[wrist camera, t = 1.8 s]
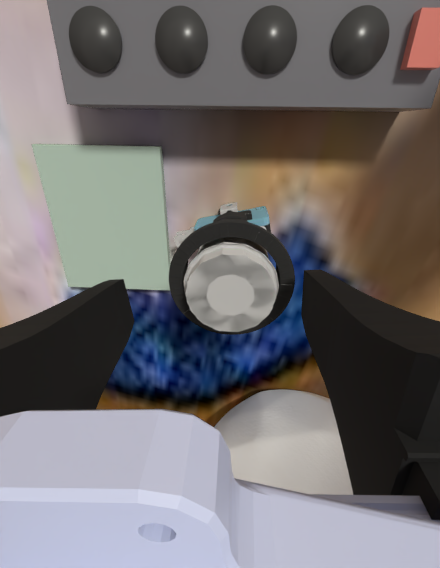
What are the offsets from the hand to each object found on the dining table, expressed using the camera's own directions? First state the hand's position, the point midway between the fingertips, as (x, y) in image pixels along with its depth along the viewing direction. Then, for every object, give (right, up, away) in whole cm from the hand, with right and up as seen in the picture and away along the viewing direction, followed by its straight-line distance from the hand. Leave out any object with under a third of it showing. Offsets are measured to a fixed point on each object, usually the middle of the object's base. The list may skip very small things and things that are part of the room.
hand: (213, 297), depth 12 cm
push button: (+1, +5, +9) cm, 10 cm away
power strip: (+2, +13, +4) cm, 14 cm away
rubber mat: (-7, +5, +9) cm, 13 cm away
